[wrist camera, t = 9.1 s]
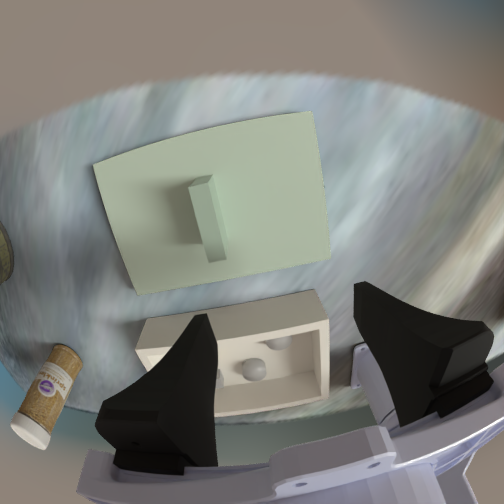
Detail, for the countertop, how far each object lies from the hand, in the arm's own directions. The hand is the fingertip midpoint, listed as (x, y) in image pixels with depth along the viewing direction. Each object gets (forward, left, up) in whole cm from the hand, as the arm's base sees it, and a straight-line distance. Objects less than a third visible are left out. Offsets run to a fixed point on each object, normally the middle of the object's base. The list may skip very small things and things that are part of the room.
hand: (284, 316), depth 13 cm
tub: (+4, +11, -10) cm, 16 cm away
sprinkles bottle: (+26, +10, -10) cm, 30 cm away
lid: (+3, -3, -11) cm, 12 cm away
